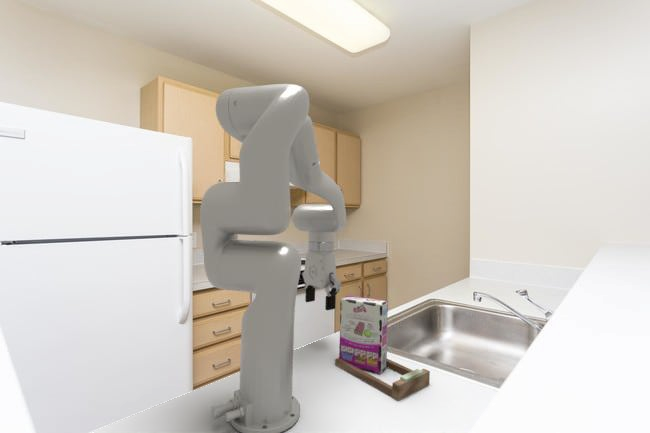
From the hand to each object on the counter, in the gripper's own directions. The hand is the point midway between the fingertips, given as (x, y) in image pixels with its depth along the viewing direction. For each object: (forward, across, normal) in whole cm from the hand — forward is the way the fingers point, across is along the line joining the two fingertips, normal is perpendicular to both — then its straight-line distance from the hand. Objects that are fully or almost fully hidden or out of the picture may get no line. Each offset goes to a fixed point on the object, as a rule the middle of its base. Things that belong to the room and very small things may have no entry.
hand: (319, 305), depth 95 cm
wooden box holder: (+10, +25, -1) cm, 27 cm away
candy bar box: (+11, +19, -1) cm, 21 cm away
